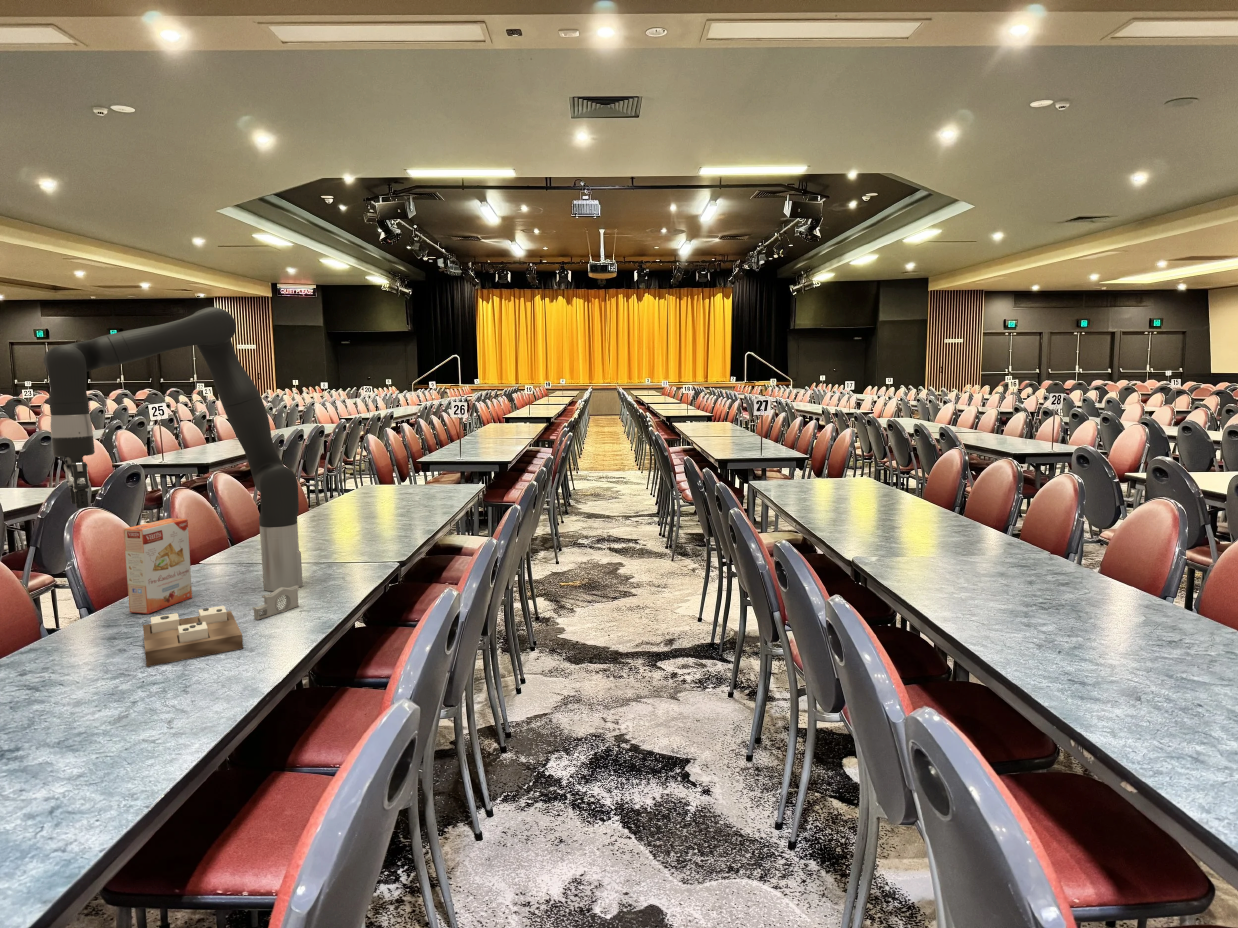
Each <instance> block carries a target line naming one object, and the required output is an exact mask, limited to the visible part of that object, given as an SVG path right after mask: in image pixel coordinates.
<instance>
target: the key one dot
mask: <svg viewBox="0 0 1238 928" xmlns="http://www.w3.org/2000/svg"><path fill="white" fill-rule="evenodd" d="M179 619H180V617H179V614H178V612H176V613H170V614H163V615H157V616H156V615H155V616H151V617H150V624H151V627H152V633H157V632H163V631H169V630H175V629H178V626H180V624H179Z"/></svg>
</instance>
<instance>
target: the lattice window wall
mask: <svg viewBox="0 0 1238 928" xmlns="http://www.w3.org/2000/svg"><path fill="white" fill-rule="evenodd" d="M298 589H300V587H298V586H297V585H296V586H294V587H292V588H285V587H284V588H282V587H281V588H279V589H277V590H275V591H271V593H270V594H264V595H262V597H261V598H263V602H264V604H261V605H259V606H255V607H252V610H253V618H254V620H256V621H259V620H261V619H265V618H268V617H271V616H274V615H277V614H280V613H285V612H287V611H288V610H291V609H294V608H297V607H299V592H298V591H299V590H298Z"/></svg>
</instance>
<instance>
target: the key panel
mask: <svg viewBox="0 0 1238 928" xmlns="http://www.w3.org/2000/svg"><path fill="white" fill-rule="evenodd" d="M226 611H227V610H226ZM198 622H200V621H199V615H197V616H196V615H195V616H192V617H186V618H179V624H180V626H182V625H188V624H194V623H198ZM206 625H207V628H208V638H206V639H200V640H195V641H189V642H183V643H179V634H178V629H175V630H169V631H163V632H157V633H152V627H151V623H147V624H143V625H142V628H143V629H142V630H143V631H142V633H143V641H144V642H143V643H144V653H145V654H144V655H145V665H146V667H147V668H148V667H151V666H156V665H157V666H159V665H163V664H167V663H174V662H178V661H179V662H180V661H183V660H188V659H189V660H190V659H193V658H200V657H204V656H210V655H217V654H220V653H226V652H232V651H238V650H241V649H244V643H243V634H242V632H241V629H240V627H239V625H238V623H237V621H236V619H235V616H234V615H233V612H232V610H228V611H227V621H223V622H217V623H211V624H206Z"/></svg>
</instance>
